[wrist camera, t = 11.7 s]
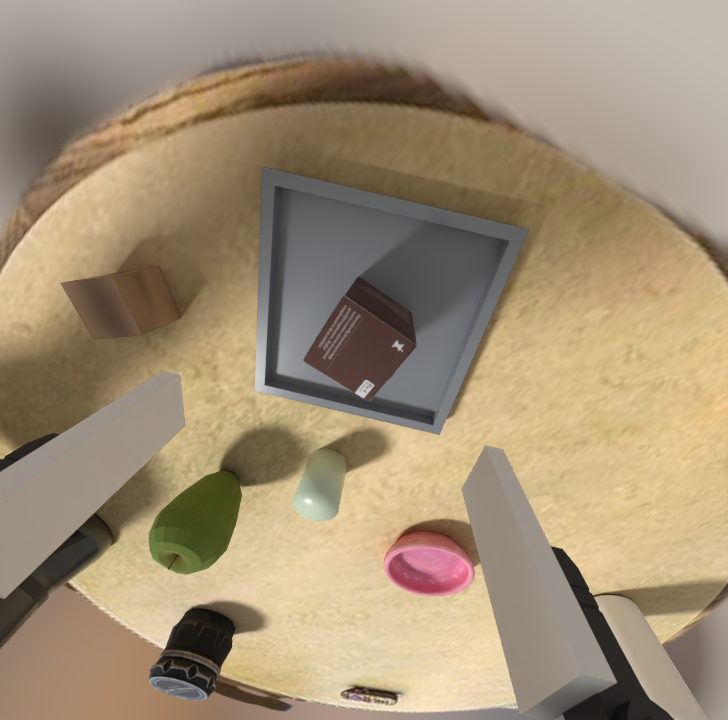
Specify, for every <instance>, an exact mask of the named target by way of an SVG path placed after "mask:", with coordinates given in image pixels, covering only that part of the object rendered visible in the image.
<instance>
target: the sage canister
mask: <svg viewBox="0 0 728 720" xmlns="http://www.w3.org/2000/svg"><path fill="white" fill-rule="evenodd" d="M346 470H347V462H346V459H345V458H344V457H343V456H342V455H341V454H340V453H338V452H337V451H334V450H331V449H318V450H316V451H314V452H313V453H312V454H311V455H310V457H309V459H308V462H307V465H306V467H305V470H304V472H303V475H302V478H301V480H300V483H299V486H298V488H297V491H296V494H295V496H294V499H293V505H294V508H295V509H296V511H297V512H298V513H299V514H300V515H302V516H303V517H305V518H307V519H310V520H314V521H327V520H330V519H332V518H334V517H335V516H336V515H337V513H338V509H339V504H340V499H341V494H342V489H343V485H344V480H345V475H346Z"/></svg>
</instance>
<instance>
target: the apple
mask: <svg viewBox="0 0 728 720" xmlns="http://www.w3.org/2000/svg"><path fill="white" fill-rule="evenodd" d="M241 497H242V493H241V489H240V485H239V482H238V478H237V477H236V476H235V475H234V474H232V473H230V472H228V471H220V472H216V473H213V474H210V475H207V476H205V477H204V478H202V479H201V480H199V481H198V482H196V483H195V484H193V485H192V486H190V487H189V488H188V489H186V490H185V491H183V492H182V493H181V494H180V495H178V496H177V497H176V498H175V499H174V500H173V501H172V502H171V503H170V504H168V505H167V506H166V507H165V508H164V509H163V510H162V511H161V512H160V513H159V514H158V515H157V517H156V519H155V521H154V523H153V526H152V528H151V530H150V533H149V546H150V552H151V554H152V557H153V559H154V560H156V561H157V562H158V563H160V564H161V565H163V566H164V567H166V568H167V569H168V570H172V571H174V572H176V573H180V574H190V573H194V572H198V571H201V570H204V569H208V568H209V567H210V566H211V565H213V564H214V563H215V562H216V561H217V560H218V559H219V558H220V556H221V555H222V554H223V553H224V552H225V551H226V550H227V547H228V545H229V542H230V539H231V537H232V534H233V531H234V528H235V526H236V522H237V517H238V512H239V507H240V502H241Z"/></svg>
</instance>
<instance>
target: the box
mask: <svg viewBox="0 0 728 720" xmlns="http://www.w3.org/2000/svg"><path fill="white" fill-rule="evenodd" d="M416 346H417V343H416V336H415V330H414V323H413V316H412V313H411V312H410V311H408V310H407V309H405V308H404V307H402V306H401V305H399V304H398V303H397V302H395V301H394V300H392V299H391V298H389V297H388V296H387V295H385V294H384V293H382V292H381V291H379V290H378V289H376V288H375V287H374V286H372V285H371V284H369V283H368V282H366V281H365V280H363V279H362V278H361V277H357V278H356V280H355V281H354V283H353V284H352V285H351V287H350V288H349V290H348V291H347V293H346V294H345V295H344V296H343V297H342V299H341V300H340V302H339V303H338V305H337V306H336V308H335V309H334V311H333V312H332V314H331V315H330V317H329V319H328V320H327V322H326V323H325V325H324V326H323V328H322V330H321V331H320V333H319V334H318V336H317V338H316V339H315V341H314V343H313V344H312V346H311V347H310V349H309V351H308V353H307V354H306V356H305V358H304V360H303V361H304V362H305V363H307V364H308V365H310V366H312V367H313V368H315V369H317V370H318V371H320V372H321V373H323V374H325V375H326V376H328V377H330V378H331V379H333V380H335V381H336V382H338V383H339V384H341V385H343V386H344V387H346V388H347V389H349V390H351V391H352V392H354V393H355V394H357V395H359V396H360V397H362V398H364V399H366V400H367V401H371V399H372V398H373V397H374V396H375V395H376V394H377V392H378V391H379V390H380V389H381V388H382V386H383V385H384V384H385V383H386V382H387V381H388V380H389V379H390V378H391V377H392V376H393V375H394V373H395V372H396V370H397V369H398V368H399V366H400V365H401V364H402V363H403V362H404V361H405V360H406V358H407V357H408V356H409V355H410V354H411V353H412V351H413V350H414V349H415V348H416Z"/></svg>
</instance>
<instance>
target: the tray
mask: <svg viewBox="0 0 728 720" xmlns="http://www.w3.org/2000/svg"><path fill="white" fill-rule="evenodd" d="M528 231H529V229H526V228H522V227H517V226H513V225H509V224H505V223H500V222H496V221H492V220H488V219H483V218H479V217H475V216H471V215H466V214H462V213H458V212H453V211H449V210H445V209H441V208H436V207H432V206H428V205H424V204H419V203H415V202H411V201H407V200H402V199H398V198H394V197H390V196H385V195H381V194H377V193H373V192H368V191H364V190H360V189H356V188H351V187H347V186H343V185H339V184H334V183H330V182H326V181H322V180H317V179H313V178H309V177H305V176H300V175H296V174H292V173H287V172H283V171H279V170H275V169H270V168H266V167H262V188H261V219H260V249H259V280H258V310H257V341H256V371H255V391H258V392H262V393H266V394H270V395H274V396H279V397H283V398H287V399H291V400H295V401H300V402H304V403H308V404H312V405H316V406H321V407H325V408H329V409H333V410H337V411H342V412H346V413H350V414H354V415H358V416H363V417H367V418H371V419H375V420H379V421H384V422H388V423H392V424H396V425H400V426H405V427H409V428H413V429H417V430H421V431H426V432H430V433H434V434H438V435H440V432H441V430H442V428H443V425H444V423H445V421H446V419H447V416H448V414H449V412H450V409H451V407H452V405H453V403H454V400H455V398H456V396H457V393H458V391H459V389H460V387H461V384H462V382H463V380H464V377H465V375H466V373H467V371H468V368H469V366H470V364H471V361H472V359H473V357H474V355H475V352H476V350H477V348H478V345H479V343H480V341H481V339H482V336H483V334H484V332H485V329H486V327H487V325H488V323H489V320H490V318H491V316H492V313H493V311H494V309H495V307H496V304H497V302H498V300H499V297H500V295H501V293H502V291H503V288H504V286H505V284H506V281H507V279H508V277H509V275H510V272H511V270H512V268H513V266H514V263H515V261H516V259H517V256H518V254H519V252H520V250H521V247H522V245H523V243H524V240H525V238H526V236H527V234H528ZM357 277H361V278H362V279H363V280H365V281H366V282H368V283H369V284H371V285H372V286H374V287H375V288H376V289H378V290H379V291H381V292H382V293H384V294H385V295H387V296H388V297H389V298H391V299H392V300H394V301H395V302H397V303H398V304H399V305H401V306H402V307H404V308H405V309H407V310H408V311H410V312H411V313H412V316H413V323H414V330H415V336H416V343H417V346H416V348H415V349H414V350H413V351H412V353H411V354H410V355H409V356H408V357H407V358H406V360H405V361H404V362H403V363H402V364H401V365H400V366H399V368H398V369H397V370H396V372H395V373H394V375H393V376H392V377H391V378H390V379H389V380H388V381H387V382H386V383H385V384H384V385H383V386H382V388H381V389H380V390H379V391H378V392H377V394H376V395H375V396H374V397H373V398H372V399H371V401H367V400H366V399H364V398H362V397H360V396H359V395H357V394H355V393H354V392H352V391H351V390H349V389H347V388H346V387H344V386H343V385H341V384H339V383H338V382H336V381H335V380H333V379H331V378H330V377H328V376H326V375H325V374H323V373H321V372H320V371H318V370H317V369H315V368H313V367H312V366H310V365H308V364H307V363H305V362H304V361H303V360H304V358H305V356H306V354H307V353H308V351H309V349H310V347H311V346H312V344H313V343H314V341H315V339H316V338H317V336H318V334H319V333H320V331H321V330H322V328H323V326H324V325H325V323H326V322H327V320H328V319H329V317H330V315H331V314H332V312H333V311H334V309H335V308H336V306H337V305H338V303H339V302H340V300H341V299H342V297H343V296H344V295H345V294H346V293H347V291H348V290H349V288H350V287H351V285H352V284H353V283H354V281H355V280H356V278H357Z"/></svg>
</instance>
